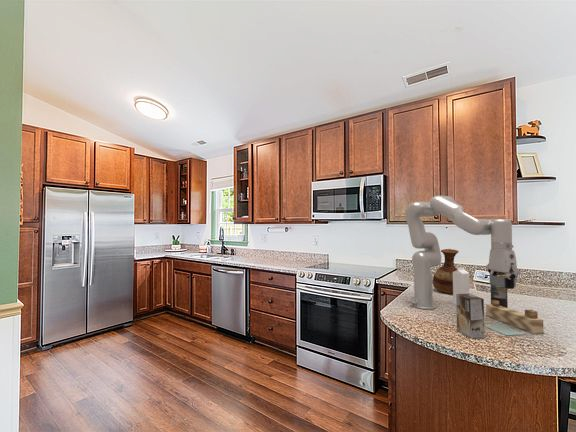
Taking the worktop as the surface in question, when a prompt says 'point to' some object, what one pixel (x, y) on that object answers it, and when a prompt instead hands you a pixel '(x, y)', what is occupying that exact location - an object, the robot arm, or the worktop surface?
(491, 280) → the lever cap
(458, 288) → the milk
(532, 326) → the body
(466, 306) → the coffee box
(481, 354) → the worktop surface
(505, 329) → the mat
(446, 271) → the brown ceramic vase
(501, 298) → the wine bottle
